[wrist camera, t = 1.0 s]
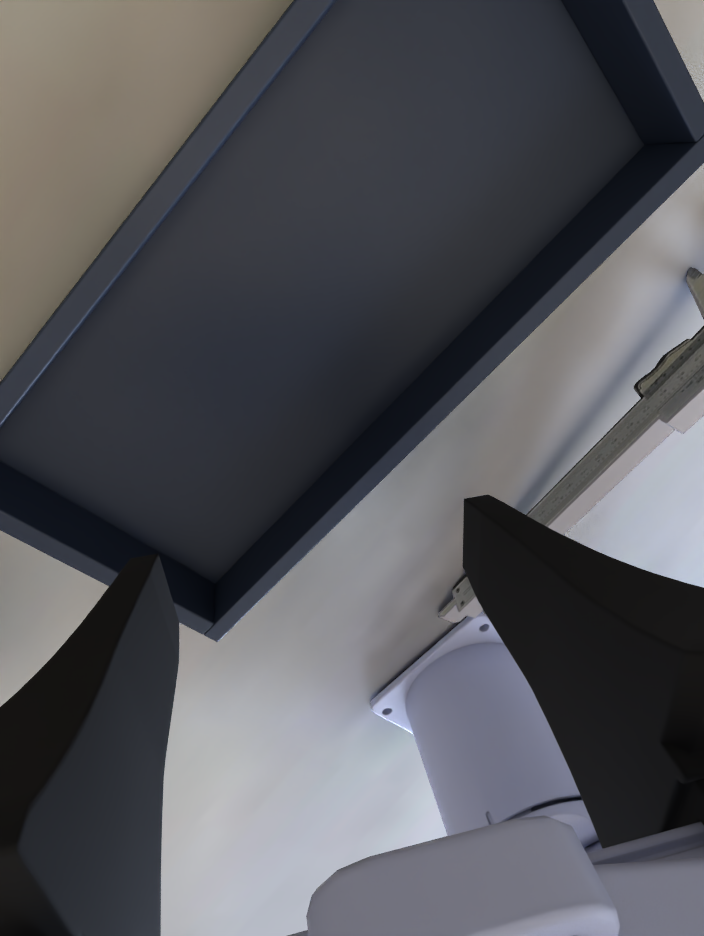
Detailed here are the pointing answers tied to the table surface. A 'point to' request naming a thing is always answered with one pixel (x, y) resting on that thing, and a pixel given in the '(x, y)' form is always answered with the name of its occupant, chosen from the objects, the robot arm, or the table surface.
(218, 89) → the table surface
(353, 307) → the tool tray
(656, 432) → the caliper
